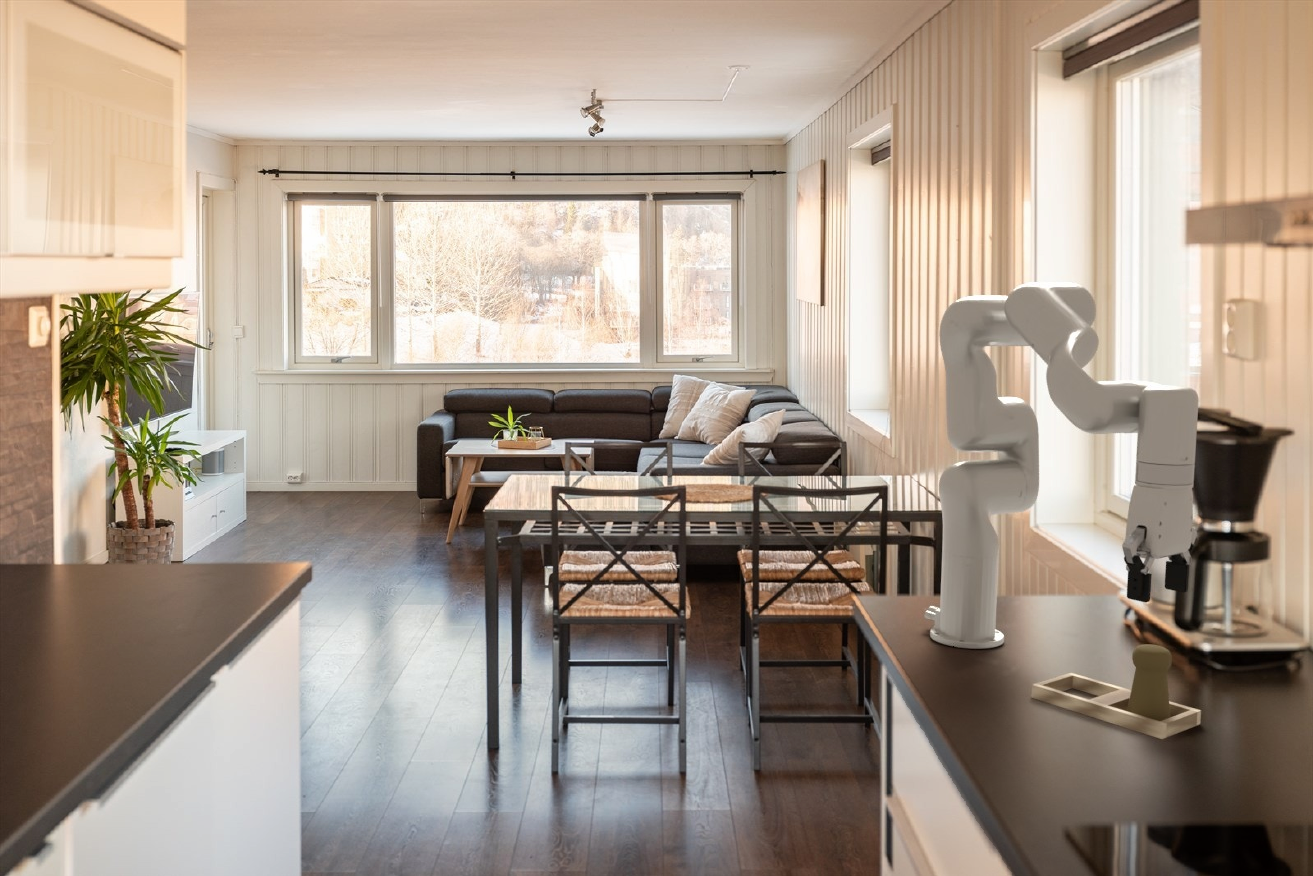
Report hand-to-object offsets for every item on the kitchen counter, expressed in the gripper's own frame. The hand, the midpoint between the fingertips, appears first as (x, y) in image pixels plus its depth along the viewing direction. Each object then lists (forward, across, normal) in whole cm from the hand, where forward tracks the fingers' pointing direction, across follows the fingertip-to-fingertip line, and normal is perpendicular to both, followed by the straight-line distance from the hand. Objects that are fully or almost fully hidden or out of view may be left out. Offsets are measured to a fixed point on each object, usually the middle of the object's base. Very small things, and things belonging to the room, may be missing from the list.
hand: (1157, 595), depth 169 cm
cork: (+19, 0, 0) cm, 19 cm away
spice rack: (+18, 0, -6) cm, 19 cm away
